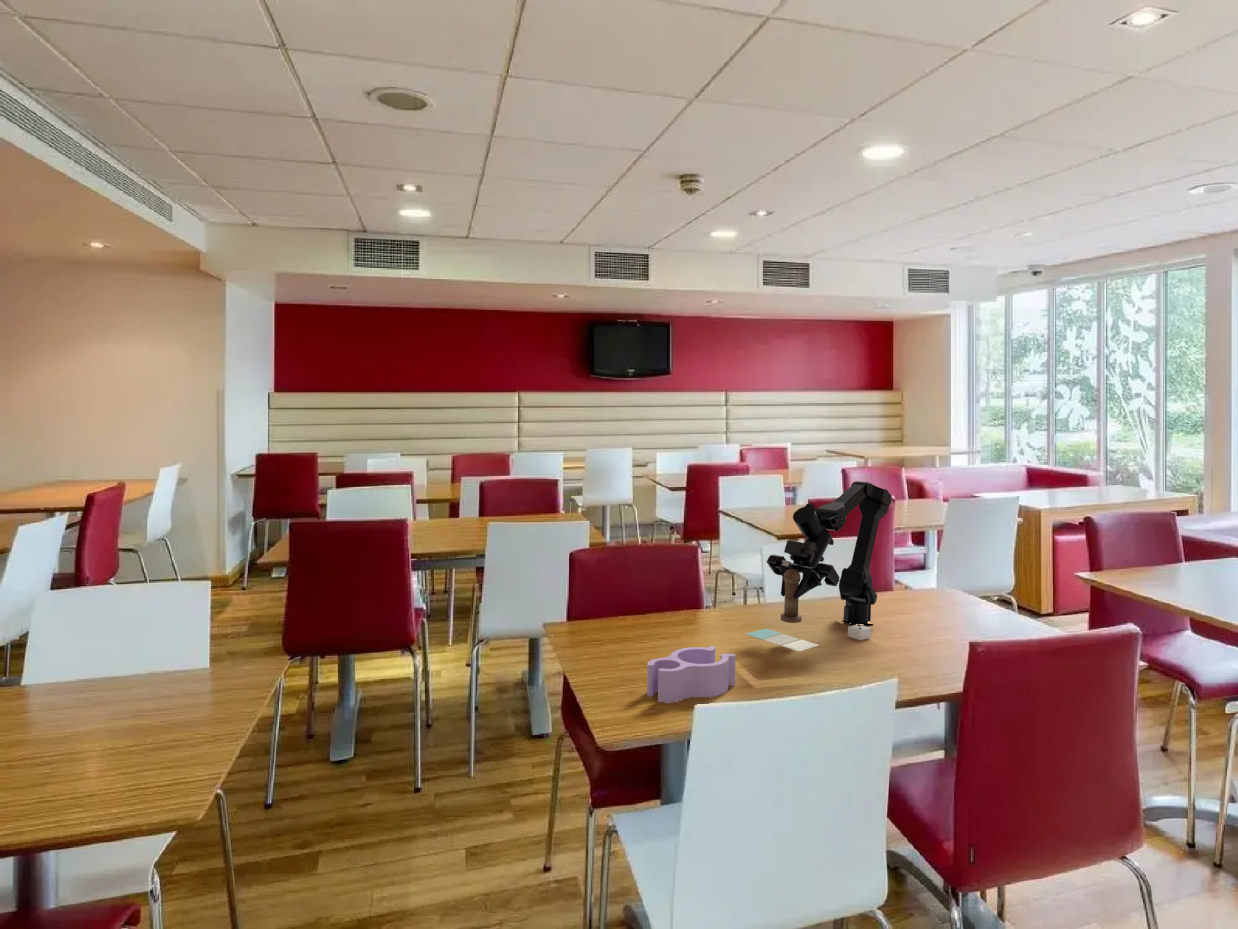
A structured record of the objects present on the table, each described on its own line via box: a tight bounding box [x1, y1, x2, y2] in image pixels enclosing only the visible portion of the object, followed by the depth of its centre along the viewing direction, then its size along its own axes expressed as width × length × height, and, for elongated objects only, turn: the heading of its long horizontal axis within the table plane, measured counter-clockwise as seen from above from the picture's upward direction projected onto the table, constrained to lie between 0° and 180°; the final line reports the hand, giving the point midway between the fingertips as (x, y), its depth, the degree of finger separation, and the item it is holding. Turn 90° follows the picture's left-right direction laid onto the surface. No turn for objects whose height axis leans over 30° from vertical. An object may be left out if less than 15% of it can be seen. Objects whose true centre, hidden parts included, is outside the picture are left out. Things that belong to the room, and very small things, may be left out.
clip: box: [646, 645, 737, 704], centre depth 160 cm, size 20×12×7 cm, turn 125°
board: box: [746, 628, 820, 652], centre depth 191 cm, size 19×9×1 cm, turn 38°
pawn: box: [780, 569, 803, 624], centre depth 187 cm, size 5×5×13 cm
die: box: [847, 624, 872, 641], centre depth 194 cm, size 4×4×4 cm
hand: (788, 596), depth 186 cm, fingers closed on pawn, 3 cm apart
